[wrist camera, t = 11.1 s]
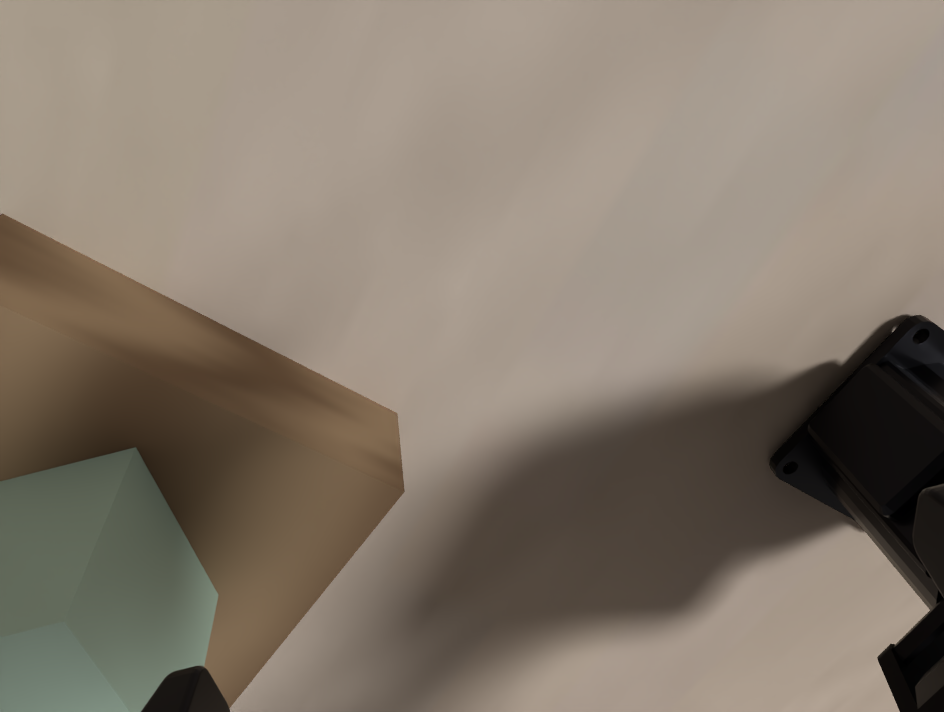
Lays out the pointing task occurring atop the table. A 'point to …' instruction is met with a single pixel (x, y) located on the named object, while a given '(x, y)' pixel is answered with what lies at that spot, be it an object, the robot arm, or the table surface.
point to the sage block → (95, 589)
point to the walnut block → (194, 435)
